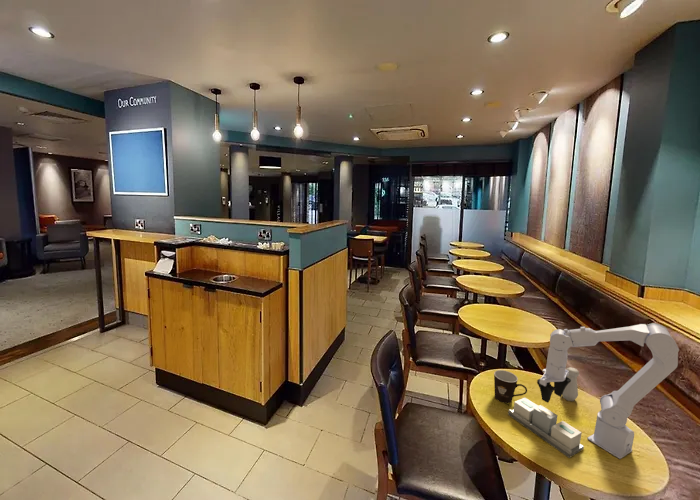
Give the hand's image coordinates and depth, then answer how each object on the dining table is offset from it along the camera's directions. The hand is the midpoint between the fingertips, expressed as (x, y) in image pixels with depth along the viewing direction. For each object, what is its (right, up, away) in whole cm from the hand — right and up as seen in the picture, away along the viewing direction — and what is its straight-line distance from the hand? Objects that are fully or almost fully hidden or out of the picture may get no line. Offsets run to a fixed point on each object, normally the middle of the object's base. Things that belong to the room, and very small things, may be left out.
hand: (551, 397), depth 115 cm
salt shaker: (+17, -8, +16) cm, 25 cm away
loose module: (-4, -9, -2) cm, 11 cm away
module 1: (-7, -8, +4) cm, 12 cm away
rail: (-5, -10, -3) cm, 12 cm away
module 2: (-1, -10, -9) cm, 14 cm away
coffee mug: (-10, -8, +14) cm, 18 cm away
